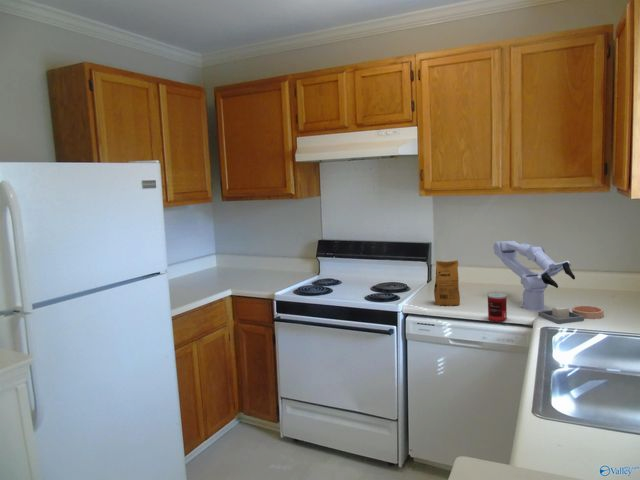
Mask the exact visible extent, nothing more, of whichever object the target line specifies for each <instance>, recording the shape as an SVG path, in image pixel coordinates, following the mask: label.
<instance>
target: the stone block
mask: <svg viewBox="0 0 640 480" xmlns="http://www.w3.org/2000/svg"><path fill="white" fill-rule="evenodd" d="M551 308H552V309H551V310H552V317H555V318H557V319H563V318H569V311H570V308H568V307H566V306H563V305H561V306H553V307H551Z"/></svg>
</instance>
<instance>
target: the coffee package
mask: <svg viewBox="0 0 640 480" xmlns="http://www.w3.org/2000/svg"><path fill="white" fill-rule="evenodd" d="M458 267H459V260H450V261H442V260H436V261H435V283H434V289H433V293H434V296H433V297H434V304H435V305H436V306H437V305H440V306H446V305H448V306H447V307H452V306H451V305H454V306H460V303H461V295H460V290H459V268H458ZM449 305H450V306H449Z"/></svg>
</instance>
